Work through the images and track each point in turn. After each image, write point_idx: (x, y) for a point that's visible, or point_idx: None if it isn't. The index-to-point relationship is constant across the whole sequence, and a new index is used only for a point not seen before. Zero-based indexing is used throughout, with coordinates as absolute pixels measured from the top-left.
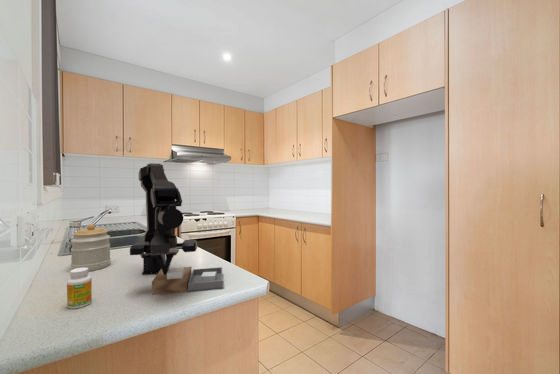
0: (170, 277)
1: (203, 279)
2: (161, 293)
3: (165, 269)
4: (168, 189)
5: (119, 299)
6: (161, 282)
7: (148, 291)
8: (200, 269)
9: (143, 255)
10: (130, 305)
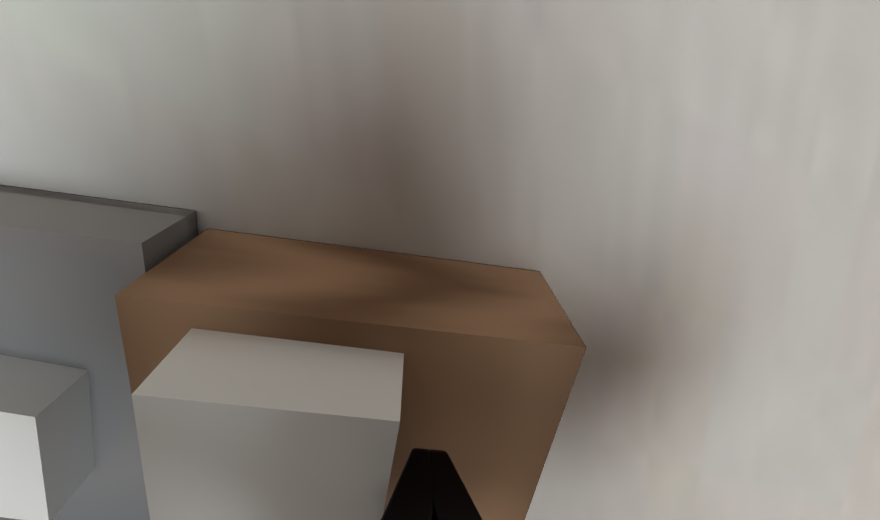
0: (353, 362)
1: (34, 387)
2: (458, 261)
3: (424, 512)
4: None
5: (796, 273)
6: (468, 320)
7: None
8: None
9: None
10: (740, 89)
